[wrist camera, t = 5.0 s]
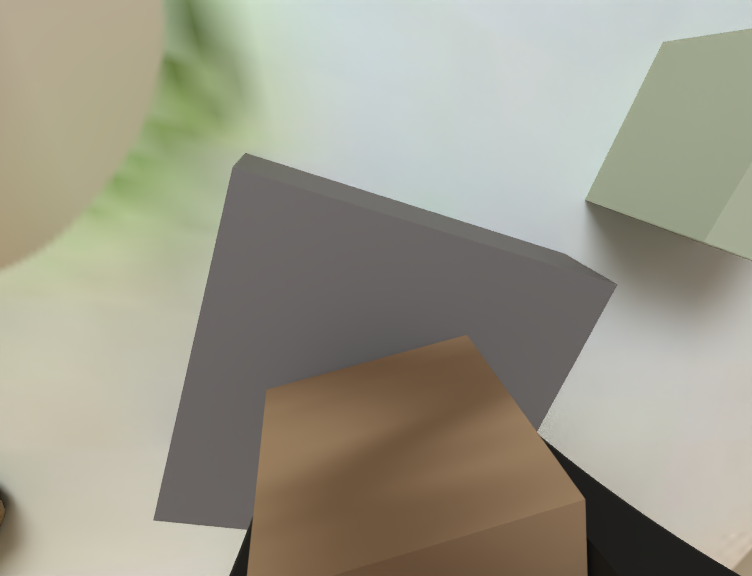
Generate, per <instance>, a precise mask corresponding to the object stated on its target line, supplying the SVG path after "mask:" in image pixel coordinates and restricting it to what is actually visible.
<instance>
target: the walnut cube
mask: <svg viewBox="0 0 752 576" xmlns="http://www.w3.org/2000/svg"><path fill="white" fill-rule="evenodd" d="M247 576H587V542H586V508H585V498H584V497H583V495H582V494H581V493H580V491H579V490H578V488H577V487H576V486H575V484H574V483H573V482H572V480H571V479H570V477H569V476H568V475H567V473H566V472H565V470H564V469H563V468H562V466H561V465H560V463H559V462H558V461H557V459H556V458H555V456H554V455H553V454H552V452H551V451H550V450H549V448H548V447H547V445H546V444H545V443H544V441H543V440H542V438H541V437H540V436H539V434H538V433H537V431H536V430H535V429H534V427H533V426H532V424H531V423H530V422H529V420H528V419H527V418H526V416H525V415H524V413H523V412H522V411H521V409H520V408H519V406H518V405H517V404H516V402H515V401H514V399H513V398H512V397H511V395H510V394H509V392H508V391H507V390H506V388H505V387H504V386H503V384H502V383H501V381H500V380H499V379H498V377H497V376H496V374H495V373H494V372H493V370H492V369H491V367H490V366H489V365H488V363H487V362H486V360H485V359H484V358H483V356H482V355H481V354H480V352H479V351H478V349H477V348H476V347H475V345H474V344H473V342H472V341H471V340H470V338H469V337H468V335H464V336H460V337H457V338H453V339H449V340H446V341H442V342H439V343H435V344H431V345H428V346H424V347H420V348H417V349H413V350H409V351H406V352H402V353H398V354H395V355H391V356H387V357H384V358H380V359H376V360H373V361H369V362H365V363H362V364H358V365H354V366H351V367H347V368H343V369H340V370H336V371H333V372H329V373H325V374H322V375H318V376H314V377H311V378H307V379H303V380H300V381H296V382H292V383H289V384H285V385H281V386H278V387H274V388H270V389H267V390H266V398H265V407H264V417H263V427H262V436H261V446H260V455H259V465H258V475H257V484H256V494H255V503H254V513H253V522H252V532H251V542H250V551H249V561H248V570H247Z"/></svg>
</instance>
